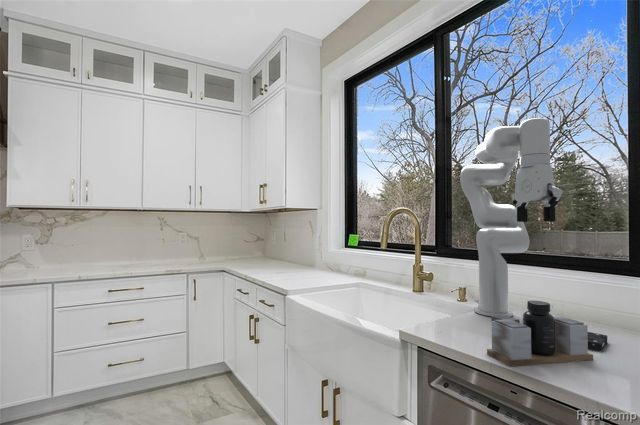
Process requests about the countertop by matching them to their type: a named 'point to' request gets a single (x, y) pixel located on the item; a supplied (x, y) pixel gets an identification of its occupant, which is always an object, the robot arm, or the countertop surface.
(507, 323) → the rail
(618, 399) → the countertop surface
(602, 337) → the disk drive
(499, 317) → the block
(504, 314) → the robot arm
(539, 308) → the supplement bottle
